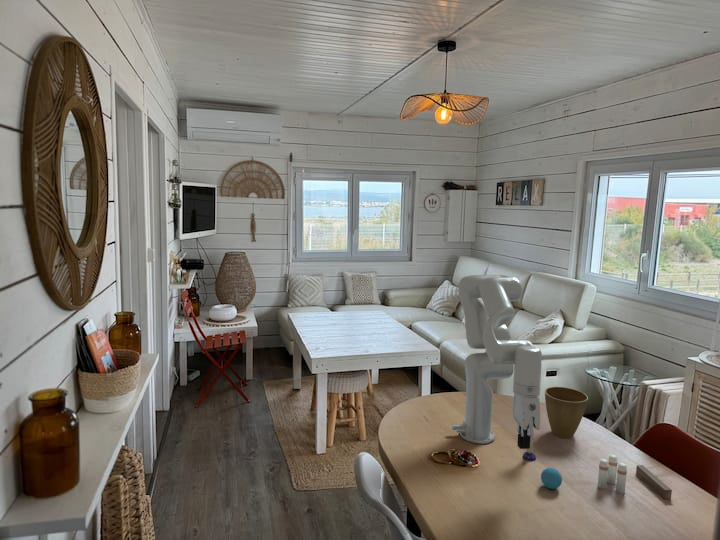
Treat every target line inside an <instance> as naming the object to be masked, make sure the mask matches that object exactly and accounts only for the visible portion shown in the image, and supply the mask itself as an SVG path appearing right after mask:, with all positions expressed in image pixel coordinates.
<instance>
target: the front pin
mask: <svg viewBox="0 0 720 540" xmlns="http://www.w3.org/2000/svg"><path fill="white" fill-rule="evenodd" d="M608 460H609V459H605V458H600V459H599V464H598V477H597V487H598V489H599V488H600V489H602V490H607V484H608V482H607V474H608V463H609V461H608Z"/></svg>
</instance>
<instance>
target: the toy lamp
mask: <svg viewBox="0 0 720 540" xmlns="http://www.w3.org/2000/svg"><path fill="white" fill-rule="evenodd" d="M533 439H534V435H533V436H531V437H530V448H529V449H526V451H525V452H523V455H522V458H523V459H524V460H526V461H528V462H529V461H530V462H534V461H536V459H537V457H536V454H535V452H533Z"/></svg>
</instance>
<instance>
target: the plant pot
mask: <svg viewBox="0 0 720 540" xmlns="http://www.w3.org/2000/svg"><path fill="white" fill-rule="evenodd" d="M544 398H545V399H544V400H545V408H546V409H545V410H546V414H547V420H548V423H549V426H550V427H549V428H550V430H551V434H553V436H555V437H557V438H560V439H567V440H568V439H572V438H573V437H574V435H575V434H576V432H577V430H578V428H579V426H580V424H581V422H582V419H583V416H584V413H585V411H586V406H587V404H588V400H589V397H588V395H587V394H586V393H584V392H583V391H580V390H578V389H574V388H570V387H564V386H550V387H547V388H545V389H544Z"/></svg>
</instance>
